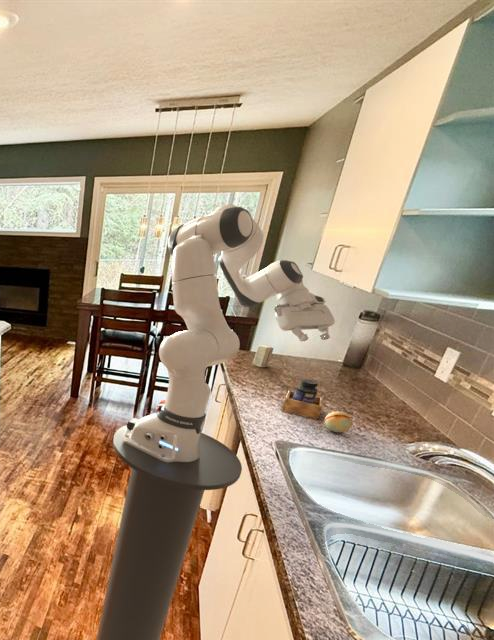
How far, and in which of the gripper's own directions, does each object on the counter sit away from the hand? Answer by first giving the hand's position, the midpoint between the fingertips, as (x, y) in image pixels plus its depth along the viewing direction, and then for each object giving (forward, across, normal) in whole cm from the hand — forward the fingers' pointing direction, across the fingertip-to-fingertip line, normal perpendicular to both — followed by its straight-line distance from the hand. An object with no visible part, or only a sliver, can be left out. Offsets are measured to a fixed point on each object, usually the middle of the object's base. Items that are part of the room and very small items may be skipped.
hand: (315, 339), depth 128 cm
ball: (+28, +8, +13) cm, 32 cm away
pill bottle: (+17, +12, +24) cm, 32 cm away
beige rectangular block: (-13, +43, +55) cm, 71 cm away
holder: (+18, +12, +24) cm, 32 cm away
